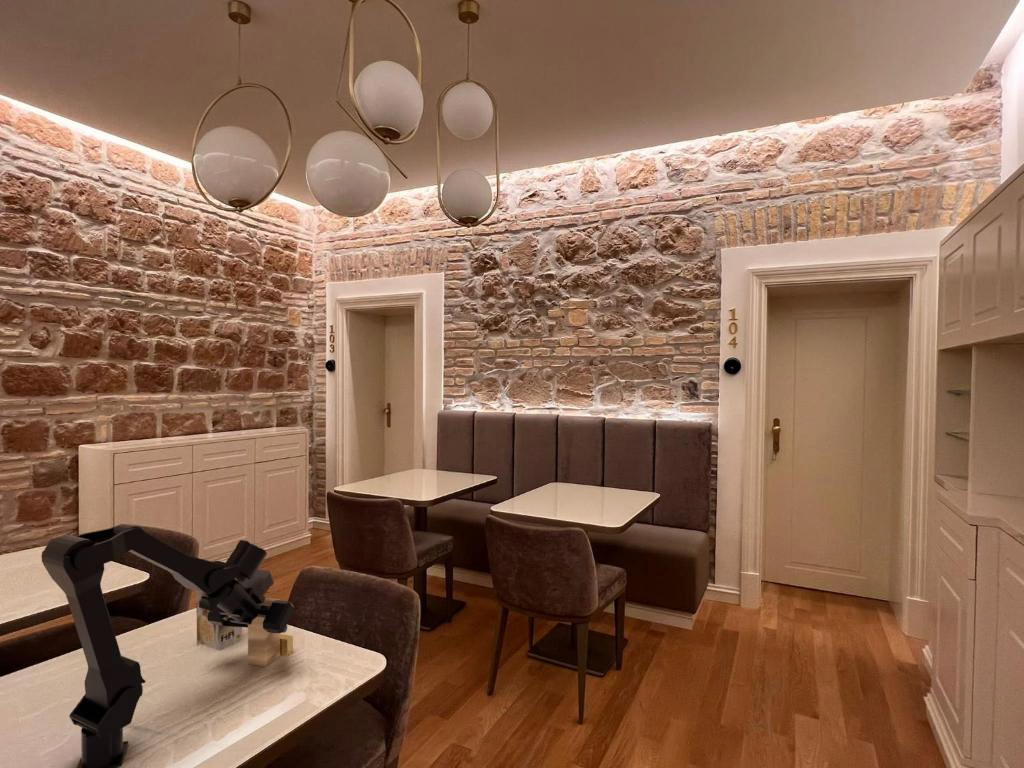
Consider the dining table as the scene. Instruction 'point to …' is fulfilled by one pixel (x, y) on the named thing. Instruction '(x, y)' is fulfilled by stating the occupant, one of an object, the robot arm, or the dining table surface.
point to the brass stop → (286, 644)
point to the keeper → (262, 641)
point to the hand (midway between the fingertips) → (268, 627)
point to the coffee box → (214, 630)
